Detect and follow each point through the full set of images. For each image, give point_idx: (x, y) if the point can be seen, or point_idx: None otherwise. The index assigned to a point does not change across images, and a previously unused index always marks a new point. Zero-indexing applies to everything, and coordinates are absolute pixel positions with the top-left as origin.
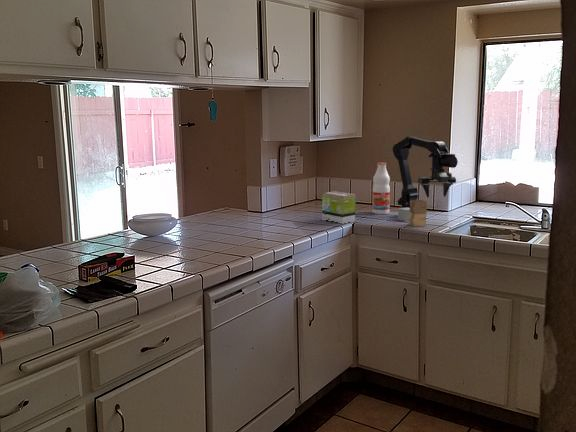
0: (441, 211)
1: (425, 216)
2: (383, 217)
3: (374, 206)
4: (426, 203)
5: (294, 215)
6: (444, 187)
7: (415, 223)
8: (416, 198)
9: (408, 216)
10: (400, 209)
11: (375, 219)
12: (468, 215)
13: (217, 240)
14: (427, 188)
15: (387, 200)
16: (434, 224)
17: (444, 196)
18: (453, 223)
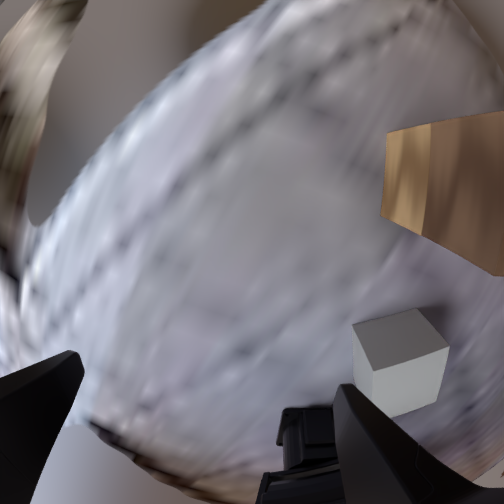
0: (111, 432)
1: (423, 127)
2: (422, 407)
3: None
4: (496, 112)
5: None
6: (20, 457)
7: None
8: (276, 492)
9: (407, 328)
10: (438, 384)
11: (473, 372)
12: (28, 328)
13: None
14: (443, 485)
15: None
16: (311, 146)
17: (78, 356)
18: (160, 141)
